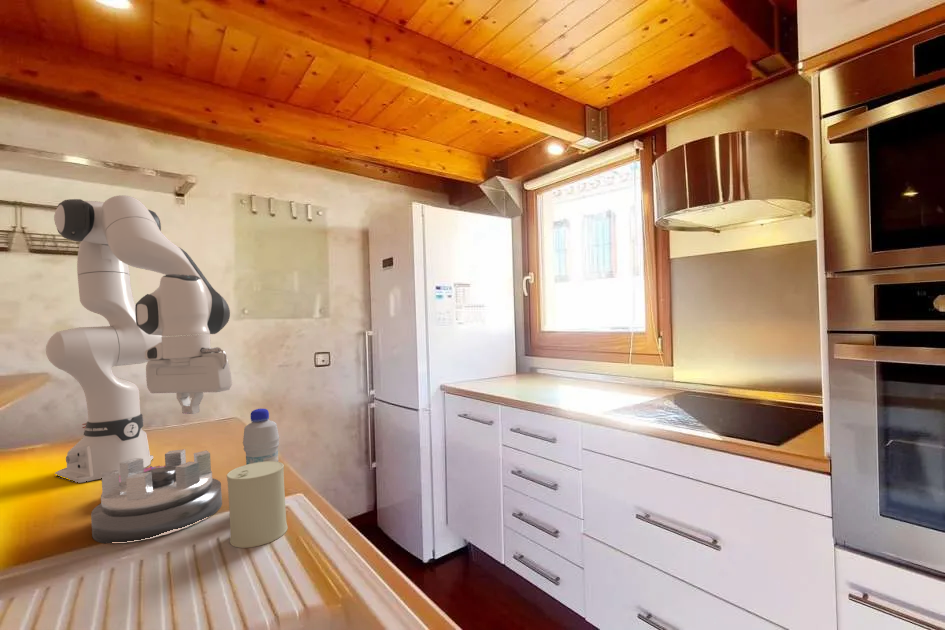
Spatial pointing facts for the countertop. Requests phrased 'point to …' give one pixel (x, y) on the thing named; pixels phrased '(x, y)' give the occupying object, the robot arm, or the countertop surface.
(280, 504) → the can
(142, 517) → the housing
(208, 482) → the toothed metal gear
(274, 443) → the bottle
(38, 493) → the countertop surface
